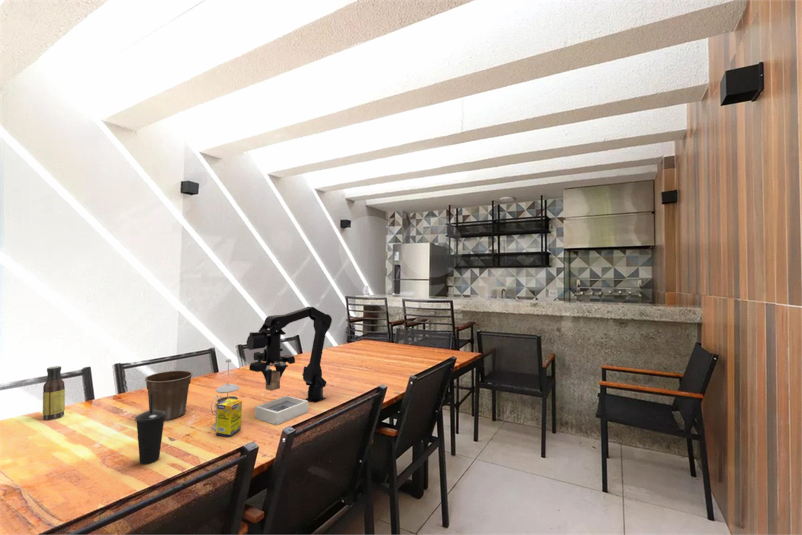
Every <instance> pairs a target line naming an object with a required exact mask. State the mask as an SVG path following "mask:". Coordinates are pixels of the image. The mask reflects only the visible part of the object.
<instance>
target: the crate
mask: <svg viewBox="0 0 802 535" xmlns="http://www.w3.org/2000/svg"><path fill="white" fill-rule="evenodd" d="M285 401H289V402H293V403H296V404H297V405H294V406H292V407H289V408H287V409H284V410H280V411H279V412H275V411H272V410H268V409H266V408H268V407H271V406H274V405H277V404H279V403H282V402H285ZM308 412H309V401H308V400H306V399H301V398H298V397H293V396H289V395H285V396H281V397H279V398H275V399H273V400H270V401H267V402H265V403H262V404H258V405H256V406H254V419H256V420H260V421H263V422H266V423H269V424H272V425H275V426H278V425H281V424H282V423H283V424H284V423H285V422H288V421H290V420H292V419H295V418H297V417H300V416H302V415H304V414H307V413H308Z"/></svg>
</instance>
